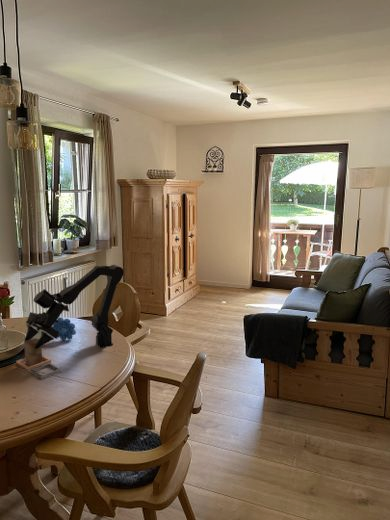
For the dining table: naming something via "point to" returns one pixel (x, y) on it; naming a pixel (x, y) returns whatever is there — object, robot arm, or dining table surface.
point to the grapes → (64, 328)
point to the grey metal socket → (47, 373)
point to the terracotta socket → (33, 365)
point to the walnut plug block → (32, 352)
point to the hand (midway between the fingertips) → (30, 345)
